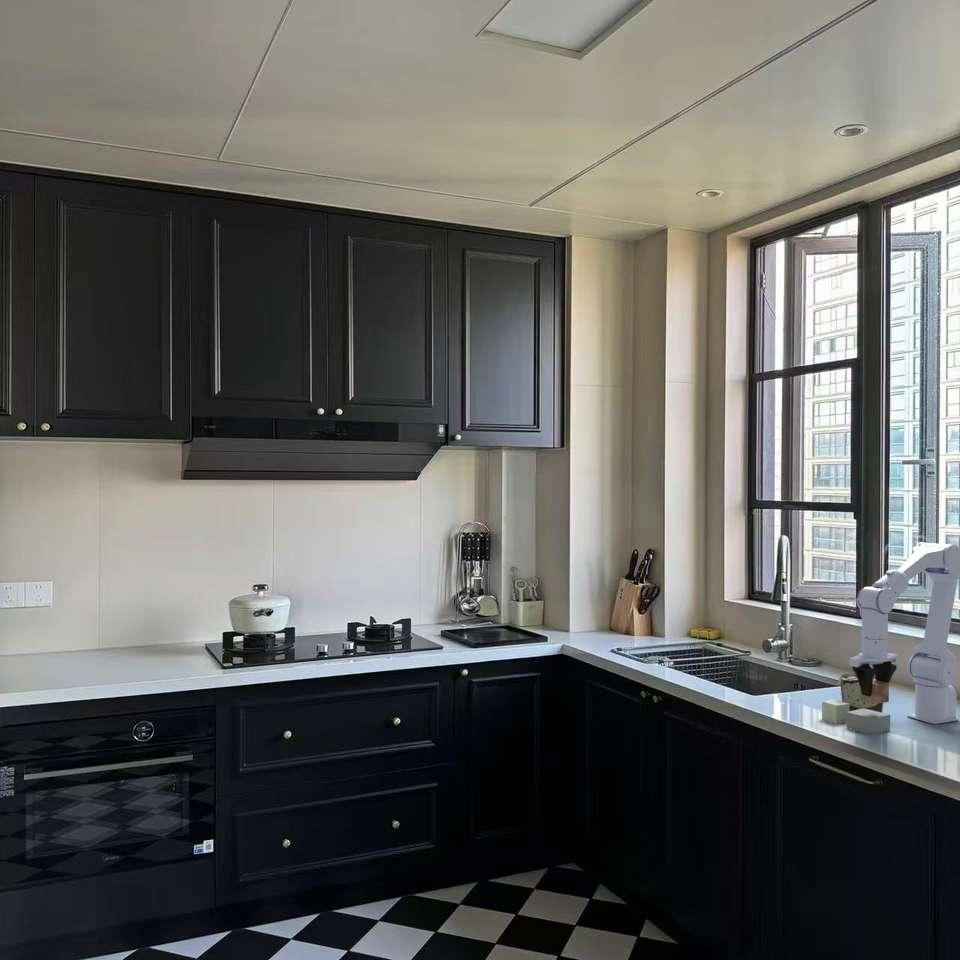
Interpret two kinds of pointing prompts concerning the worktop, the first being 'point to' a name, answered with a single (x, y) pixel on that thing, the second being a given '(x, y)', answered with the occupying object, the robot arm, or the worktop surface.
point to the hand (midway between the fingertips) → (873, 694)
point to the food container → (855, 693)
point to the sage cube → (835, 711)
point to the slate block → (868, 721)
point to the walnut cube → (877, 693)
